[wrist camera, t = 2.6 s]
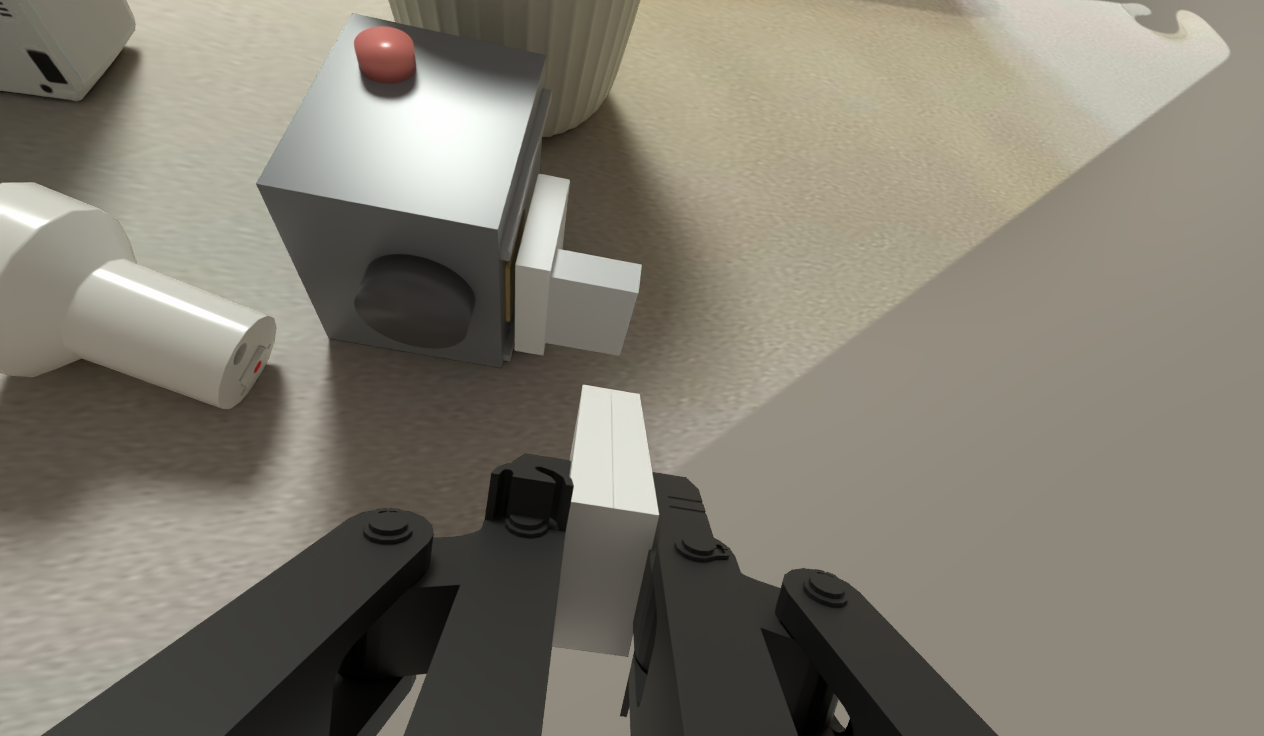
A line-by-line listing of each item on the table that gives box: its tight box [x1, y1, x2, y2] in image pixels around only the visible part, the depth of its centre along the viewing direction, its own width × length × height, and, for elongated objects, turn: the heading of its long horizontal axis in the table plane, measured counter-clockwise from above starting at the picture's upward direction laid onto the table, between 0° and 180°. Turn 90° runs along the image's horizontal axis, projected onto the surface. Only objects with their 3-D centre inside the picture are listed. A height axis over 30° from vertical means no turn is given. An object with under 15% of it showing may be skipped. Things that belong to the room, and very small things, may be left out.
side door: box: [515, 173, 642, 356], centre depth 32 cm, size 5×6×7 cm
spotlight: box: [0, 182, 276, 409], centre depth 29 cm, size 8×11×8 cm
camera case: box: [256, 13, 552, 368], centre depth 31 cm, size 9×13×12 cm
